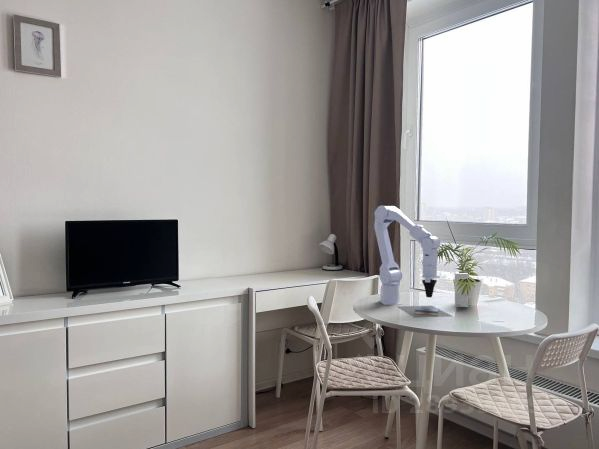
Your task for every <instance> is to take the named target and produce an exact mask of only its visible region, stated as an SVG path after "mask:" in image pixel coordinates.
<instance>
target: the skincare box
mask: <svg viewBox="0 0 599 449" xmlns="http://www.w3.org/2000/svg"><path fill="white" fill-rule="evenodd" d="M459 272H460V271H455V273H454V307H458V308H459V307H461V308H469V306H470V305H469V306H468V296H467V297H465V296H463V295H461V294H460V293H459V292H458V291H457V290H456V291H455V289H456V288H457V285H455V284H456V281H457V280H459V279H468V277H469V278H470V273H469V274H468V273H459ZM457 289H458V288H457Z"/></svg>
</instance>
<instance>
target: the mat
mask: <svg viewBox="0 0 599 449" xmlns="http://www.w3.org/2000/svg"><path fill="white" fill-rule="evenodd" d="M396 307H397V308H398V309H400V310H401V311H403V312H404V313H407V314H408V315H409V316H411V317H413V318H442V317H443V318H444V317H445V318H446V317H453V315H451V314H450V313H447V312H445V311H444V310H442V309H440V308H438V309H439V314H438V316H437V315H425V314H415V309H416V307H426V308H436V307H435V306H434V305H408V306H407V305H406V306H405V305H402V306H401V305H399V306H396Z"/></svg>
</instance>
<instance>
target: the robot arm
mask: <svg viewBox="0 0 599 449" xmlns="http://www.w3.org/2000/svg"><path fill="white" fill-rule="evenodd" d="M373 215H374V225H373V226H374V233H375V236H376V240H377V245H378V249H379V254H380V259H381V265H380V266H379V276H378V277H379V280H380V282H381V286H380V299H378V302H379V303H380V304H382V305H385V306H388V305H389V306H390V305H391V306H394V305H399V306H401V305H402V303H401V302H400V300H399V299H400V281H402V278H403V273H402V271H401V269H400V266H399V264H398V263H397V262H396V261H395V259H394V254H393V250H392V244H391V241H390V235H389V231H388V227H389V226H390V224H391V223H392V222H394V221H396V222H398V223H399V224H400V225H402V226H403V227H404V228H406V230H408V231H409V235H410V237H412V238H413V239H414V240H415V241H416V242H418V243H419V244H420V247H421V249H422V274H421V277H422V278H423V279H422V280H421V283H422V284H423V286H424V292H425V296H426V298H433V296H434V295H433V293H434V289H435V286H436V283H437V281H438V280H437V278H438V279H439V278H440V275H438V249H439V247H440V245H441V240H440V239H439V238H438V236H436V235H432V233H431V232H428V231H427V230H426V229H425V228H424V226H423V225H422V224H415V223H413V221H411V220H410V219H409V218H408V217H407V216H406V215H405V214H404V213H403V212H402V211H401V209H399V208H398V207H397V206H395V205H379V206H378V207H377V208H376V209H375V211H374V214H373Z"/></svg>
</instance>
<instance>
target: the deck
mask: <svg viewBox="0 0 599 449" xmlns="http://www.w3.org/2000/svg"><path fill="white" fill-rule="evenodd" d="M439 309H440V308H437V307H435V308H426V307H416V309H415V314H425V315H437V316H438V314H439Z"/></svg>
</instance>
